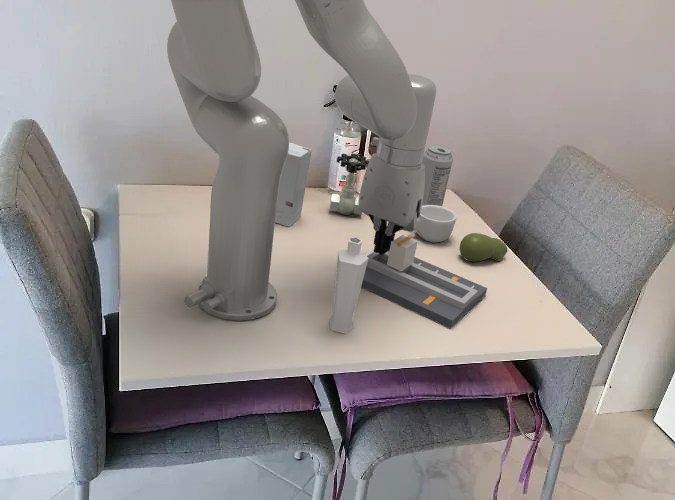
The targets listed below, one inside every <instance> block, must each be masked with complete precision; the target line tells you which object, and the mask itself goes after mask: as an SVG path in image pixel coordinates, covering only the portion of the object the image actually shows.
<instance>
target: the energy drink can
mask: <svg viewBox="0 0 675 500" xmlns="http://www.w3.org/2000/svg"><path fill="white" fill-rule="evenodd" d="M452 152H453V151H452V149H451V148H449V147H448V146H445V145H441V144H430V145H428V147H427V149H426V151H424V155H423V160H422V164H423V165H424V166H425V186H424V195H423V202H422V206H423V205H437V206H442V207H443V206H444V205H443V204H444V200H445V196H446V192H447V188H448V183H449V178H450V174H451V170H452V165H453V161H454V158H453V155H452Z"/></svg>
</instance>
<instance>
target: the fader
mask: <svg viewBox="0 0 675 500" xmlns="http://www.w3.org/2000/svg"><path fill="white" fill-rule="evenodd" d="M412 237H413V236H412V235H408V236H407V235H404V234H402V235H400V236H398V237H397V238H394V240H393V241H392V242H391V246H390V251H389V256H388V261H387V265H388V266H390V267H392V268H394V269H397V270H399V271H401V272H403V273H407V272H408V271H409V268H410V265H412V264H413V261H414V257H415V256H416V251H417V247H418V243H419V242H418V240H417V239H414V238H412Z"/></svg>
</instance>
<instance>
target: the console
mask: <svg viewBox="0 0 675 500" xmlns="http://www.w3.org/2000/svg"><path fill="white" fill-rule="evenodd" d="M389 251H390V250H389ZM389 251H388V252H386V253H385V254H383V255H380V254H379V253H375V252H374V251H373V252H371V253H369V254H368V255H366V256H367V257H368V258H369V259H368V262H367V266H366V270H365V274H364V278H363V282H362V285H361V288H363V289H365V290H368V291H369V292H371V293H374V294H376V295H378V296H380V297H382V298H384V299H387V300H389V301H391V302H393V303H394V304H397V305H400V306H401V307H404V308H405V309H407V310H409V311H413V312H414V313H416V314H418V315H421V316H423V317H425V318H427V319H430V321H431V320H432V321H433V322H435V323H438V324H440V325H442V326H444V327H447V328H448V329H452V328H453V327H454V326H455V325H456V324H457V323H458V322H459V321H460V320H461V319H462V318H463V317H464V316H465V315H467V313H469V311H471V310H472V309H473V308H474V307H475V306H476V305H477V304H478V303H479V302H480V301H481V300H482V299H484V298H485V297H486V296H487V295H486V294H487V292H488V287H485V286H483V285H481V284H478V283H476V282H474V281H471V280H470V279H467V278H465V277H463V276H459V275H457V274H455V273H453V272H451V271H449V270H446V269H443V268H442V267H439V266H436V265H434V264H432V263H430V262H427V261H425V260H422V259H420V258H418V257H415V256H414V261H413V264H412V265H410V268H409V271H408V272H407V273H403V272H401V271H399V270H397V269H394V268H392V267H390V266H388V265H387V261H388V256H389Z"/></svg>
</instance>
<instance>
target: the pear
mask: <svg viewBox="0 0 675 500" xmlns="http://www.w3.org/2000/svg"><path fill="white" fill-rule="evenodd" d="M508 251H509V249H508V246H507V245H506V243H505V242H503V241H502V240H501V239H499V238H498V237H490V236H489V235H487V234H482V233H479V232H478V233H477V232H471V233H469V234H466V235H465V236H464V237H463V238H462V239H461V241H460V243H459V252H460V254H461V256H462V257H463V258H464V259H465V260H467V261H469V262H473V263H475V262H481V261H484V260H487V259H489V258H490V259H492V260H494V261H496V262H501V260H502V261H504V257H505V256H506V255H507V252H508Z"/></svg>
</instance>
